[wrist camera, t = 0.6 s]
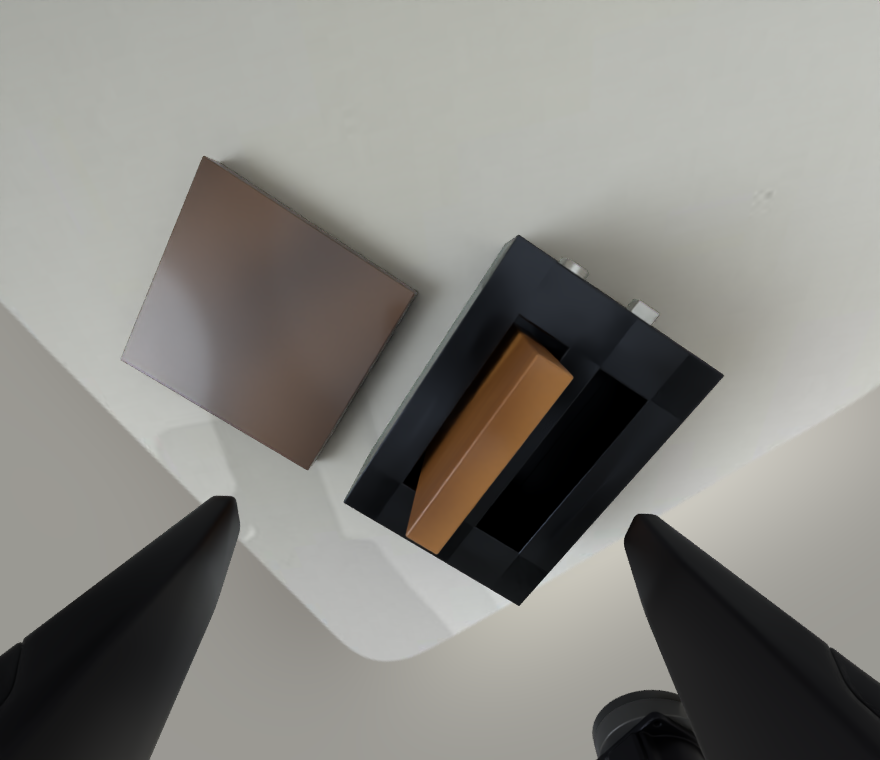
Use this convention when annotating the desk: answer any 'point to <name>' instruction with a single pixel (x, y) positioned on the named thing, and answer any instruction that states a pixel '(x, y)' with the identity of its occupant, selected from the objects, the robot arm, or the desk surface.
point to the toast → (484, 434)
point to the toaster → (558, 433)
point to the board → (263, 316)
